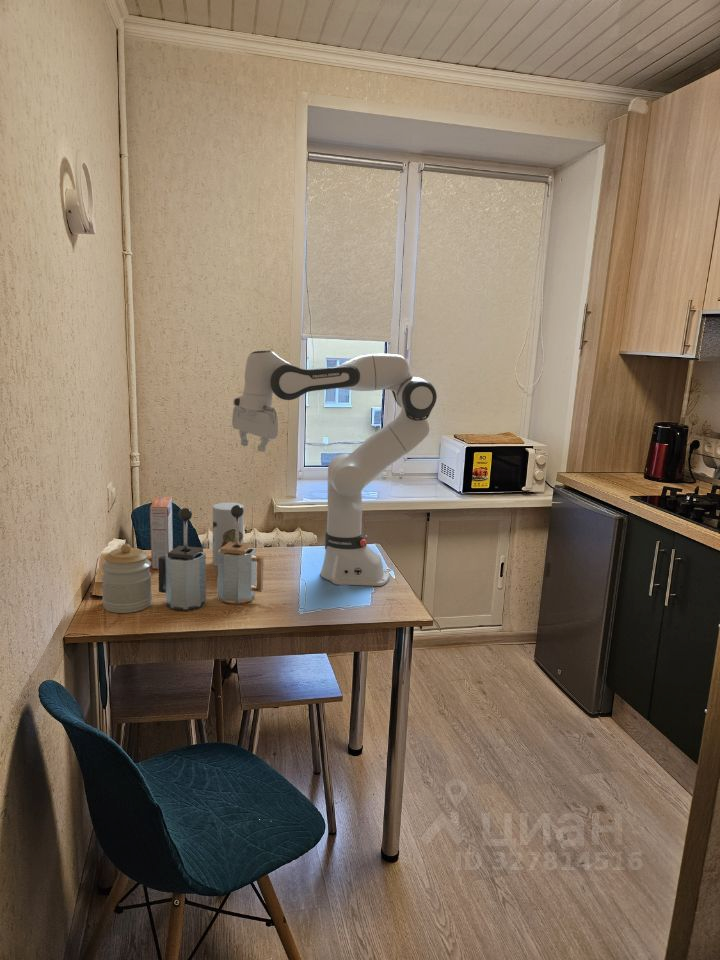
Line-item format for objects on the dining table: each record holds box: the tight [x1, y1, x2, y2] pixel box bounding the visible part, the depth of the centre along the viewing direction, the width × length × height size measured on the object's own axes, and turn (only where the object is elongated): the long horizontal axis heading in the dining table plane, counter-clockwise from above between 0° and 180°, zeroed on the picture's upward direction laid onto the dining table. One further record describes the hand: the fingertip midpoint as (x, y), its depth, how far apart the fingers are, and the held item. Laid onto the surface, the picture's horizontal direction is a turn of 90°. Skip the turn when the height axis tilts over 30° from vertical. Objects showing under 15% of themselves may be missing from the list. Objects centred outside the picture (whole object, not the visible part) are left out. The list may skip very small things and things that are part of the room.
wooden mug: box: [216, 529, 244, 578], centre depth 206 cm, size 9×14×18 cm, turn 13°
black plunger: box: [178, 507, 193, 560], centre depth 183 cm, size 8×8×17 cm
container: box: [212, 502, 245, 568], centre depth 220 cm, size 10×10×20 cm
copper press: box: [217, 542, 264, 605], centre depth 191 cm, size 13×10×16 cm
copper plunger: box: [231, 505, 245, 555], centre depth 189 cm, size 8×8×17 cm
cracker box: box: [149, 496, 174, 570], centre depth 218 cm, size 14×6×21 cm, turn 10°
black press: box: [158, 545, 207, 612], centre depth 185 cm, size 13×10×16 cm
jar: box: [100, 543, 153, 614], centre depth 182 cm, size 13×13×18 cm
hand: (252, 448), depth 204 cm, fingers open, 8 cm apart
